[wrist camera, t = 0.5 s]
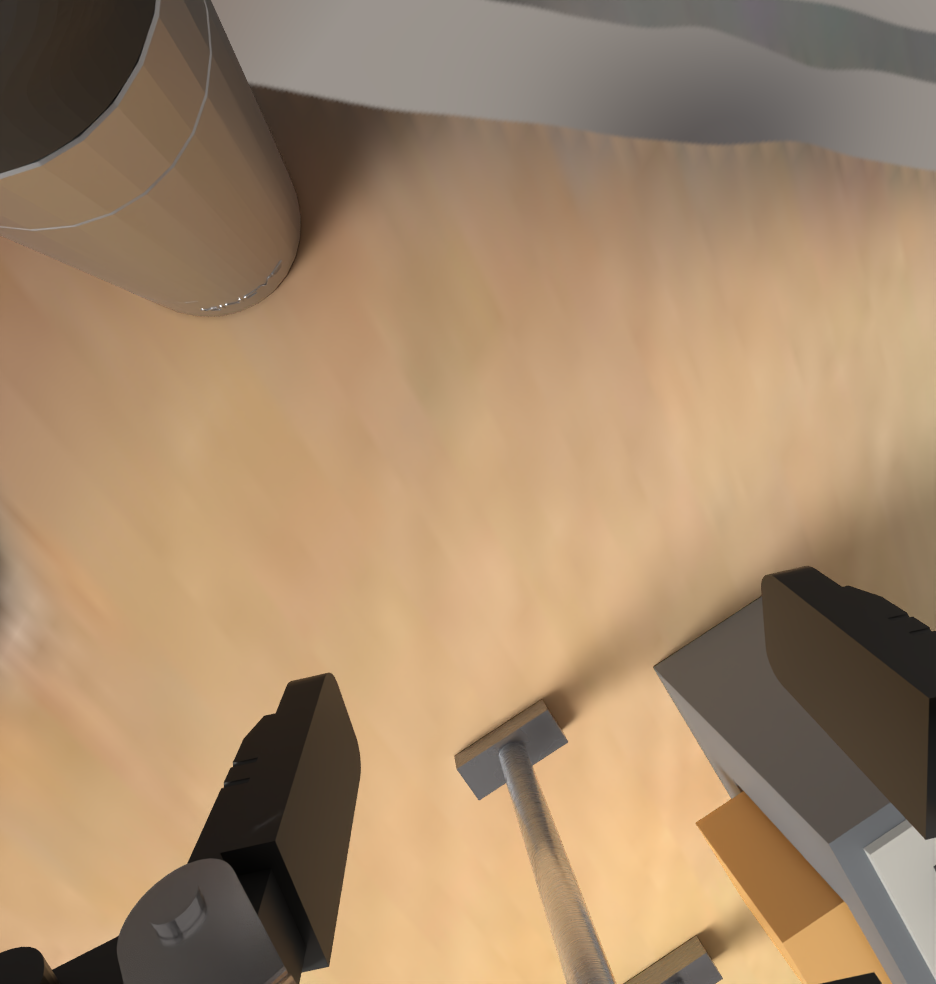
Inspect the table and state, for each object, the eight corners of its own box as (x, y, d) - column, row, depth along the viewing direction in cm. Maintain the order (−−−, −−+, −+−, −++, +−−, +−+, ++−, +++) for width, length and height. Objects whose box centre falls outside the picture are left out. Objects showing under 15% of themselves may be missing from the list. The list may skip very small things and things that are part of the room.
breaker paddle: (695, 823, 31) (782, 943, 24) (773, 771, 31) (882, 875, 24) (744, 901, 32) (840, 1037, 25) (818, 851, 32) (935, 972, 25)
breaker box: (652, 667, 34) (872, 888, 18) (765, 593, 34) (1076, 750, 19) (780, 881, 38) (1057, 1220, 22) (882, 813, 38) (1226, 1100, 22)
